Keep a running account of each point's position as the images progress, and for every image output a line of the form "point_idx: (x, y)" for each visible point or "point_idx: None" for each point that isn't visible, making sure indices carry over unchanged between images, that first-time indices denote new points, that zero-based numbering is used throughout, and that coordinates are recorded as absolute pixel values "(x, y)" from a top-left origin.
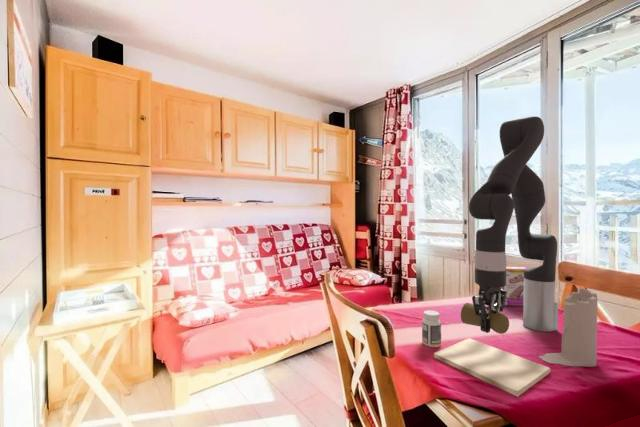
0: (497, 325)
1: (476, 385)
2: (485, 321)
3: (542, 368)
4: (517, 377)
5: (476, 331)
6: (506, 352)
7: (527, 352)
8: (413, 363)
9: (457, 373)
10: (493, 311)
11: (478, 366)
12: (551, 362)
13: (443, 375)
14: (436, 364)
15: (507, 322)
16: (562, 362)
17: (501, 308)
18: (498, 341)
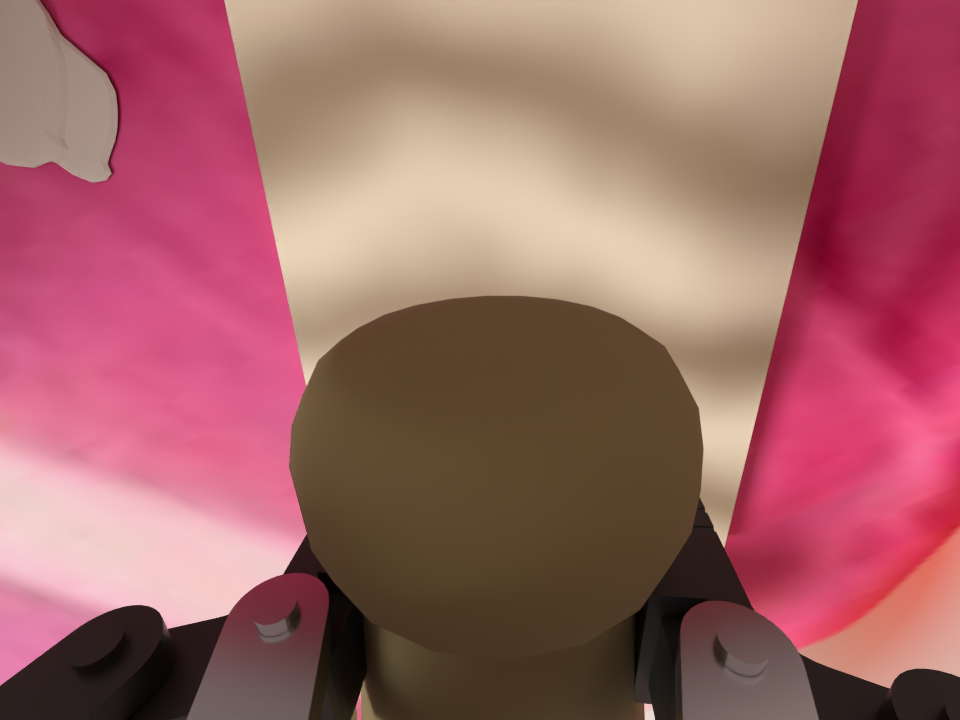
0: (696, 409)
1: (885, 229)
2: (742, 595)
3: (289, 22)
4: (618, 69)
5: (187, 553)
6: (300, 319)
7: (124, 257)
8: (875, 565)
9: (807, 377)
10: (335, 702)
11: (679, 329)
12: (91, 73)
13: (900, 411)
14: (786, 495)
15: (459, 337)
16: (10, 12)
17: (106, 699)
18: (174, 431)
